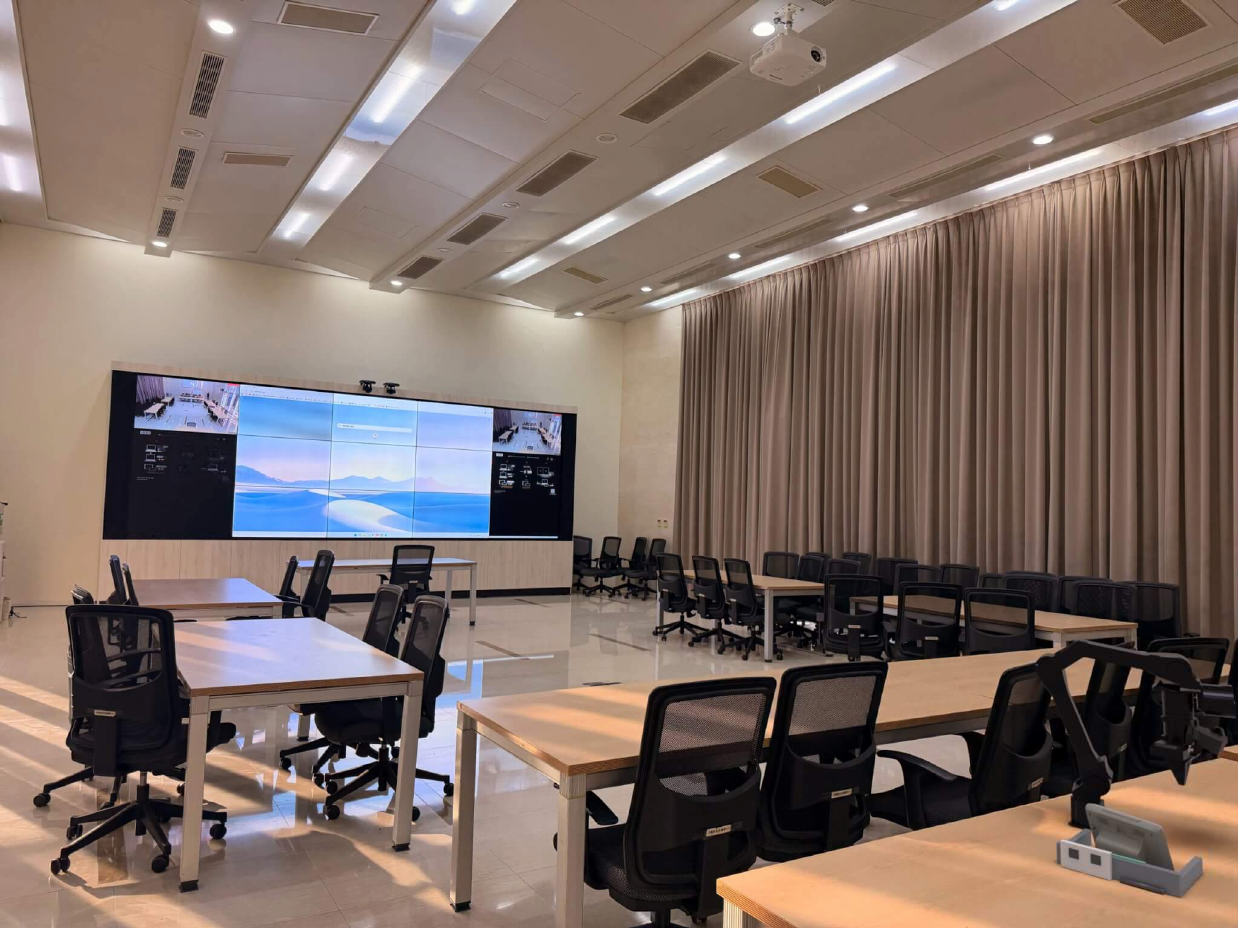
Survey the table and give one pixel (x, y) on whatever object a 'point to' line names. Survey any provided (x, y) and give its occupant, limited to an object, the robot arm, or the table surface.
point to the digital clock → (1128, 836)
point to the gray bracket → (1125, 867)
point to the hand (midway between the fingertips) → (1182, 784)
